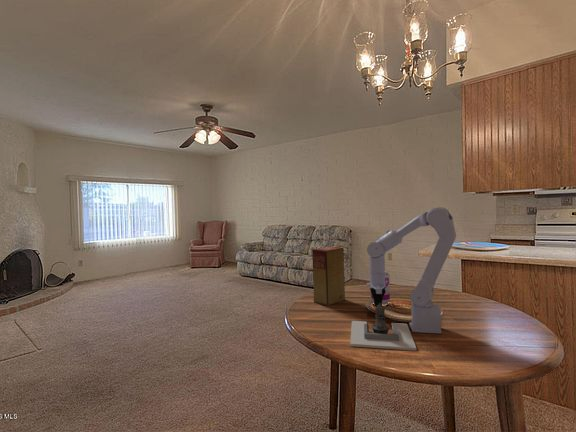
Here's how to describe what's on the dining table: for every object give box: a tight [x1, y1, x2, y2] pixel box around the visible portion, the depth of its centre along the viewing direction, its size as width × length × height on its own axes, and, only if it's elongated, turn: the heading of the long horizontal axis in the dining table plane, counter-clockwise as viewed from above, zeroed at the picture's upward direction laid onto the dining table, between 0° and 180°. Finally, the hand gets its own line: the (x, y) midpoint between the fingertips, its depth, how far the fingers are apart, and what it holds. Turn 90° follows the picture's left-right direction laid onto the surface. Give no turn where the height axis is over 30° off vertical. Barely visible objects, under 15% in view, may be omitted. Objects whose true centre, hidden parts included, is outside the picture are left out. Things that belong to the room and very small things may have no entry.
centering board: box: [349, 320, 417, 352], centre depth 108 cm, size 20×20×2 cm
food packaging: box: [311, 246, 346, 307], centre depth 148 cm, size 13×9×25 cm
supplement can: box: [370, 269, 391, 304], centre depth 141 cm, size 8×8×15 cm
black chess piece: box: [371, 303, 390, 334], centre depth 107 cm, size 6×6×12 cm
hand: (378, 307), depth 122 cm, fingers closed
